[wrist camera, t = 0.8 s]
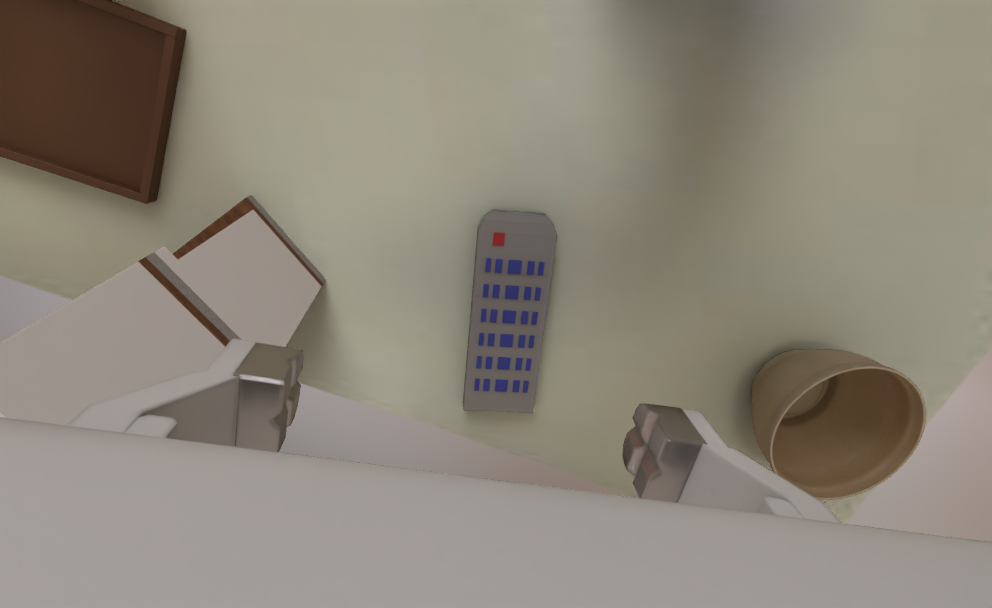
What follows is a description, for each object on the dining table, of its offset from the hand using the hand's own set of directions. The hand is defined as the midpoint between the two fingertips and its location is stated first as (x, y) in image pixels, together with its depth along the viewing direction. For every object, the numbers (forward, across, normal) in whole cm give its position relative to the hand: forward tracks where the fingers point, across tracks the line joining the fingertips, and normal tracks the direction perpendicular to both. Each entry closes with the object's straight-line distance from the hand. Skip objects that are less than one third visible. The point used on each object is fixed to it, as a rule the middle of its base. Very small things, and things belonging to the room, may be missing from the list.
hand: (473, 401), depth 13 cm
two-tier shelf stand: (+44, +18, +15) cm, 50 cm away
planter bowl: (+44, -44, +18) cm, 65 cm away
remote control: (+44, -9, +15) cm, 47 cm away
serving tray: (+44, +33, +1) cm, 55 cm away
